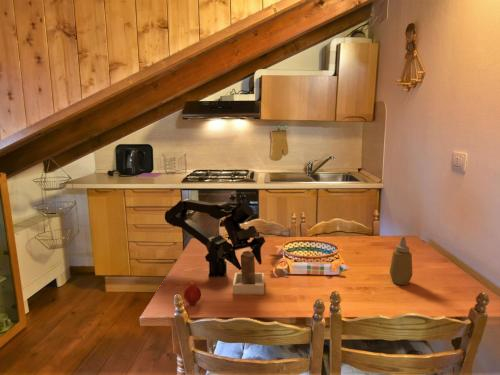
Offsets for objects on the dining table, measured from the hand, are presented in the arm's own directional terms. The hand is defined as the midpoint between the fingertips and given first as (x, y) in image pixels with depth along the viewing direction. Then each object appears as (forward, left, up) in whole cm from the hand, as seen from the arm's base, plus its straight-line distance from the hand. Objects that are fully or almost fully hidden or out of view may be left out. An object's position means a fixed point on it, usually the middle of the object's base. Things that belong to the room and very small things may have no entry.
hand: (250, 266), depth 135 cm
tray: (-1, +1, -9) cm, 9 cm away
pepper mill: (-1, +1, -8) cm, 8 cm away
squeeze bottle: (+57, +7, -9) cm, 58 cm away
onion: (-19, -12, -9) cm, 24 cm away
